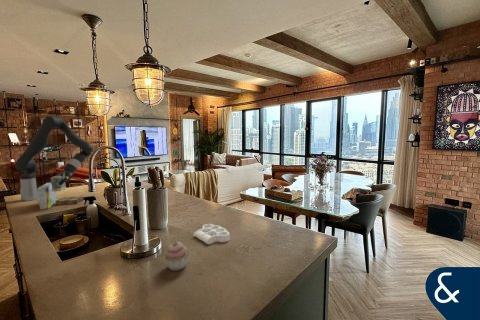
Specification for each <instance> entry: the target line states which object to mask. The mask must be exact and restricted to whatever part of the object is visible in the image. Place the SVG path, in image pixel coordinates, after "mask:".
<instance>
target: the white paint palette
mask: <svg viewBox="0 0 480 320" xmlns="http://www.w3.org/2000/svg"><path fill="white" fill-rule="evenodd" d="M193 237H195V238H197V239H199V240H200V241H203V242H204V243H205V244H206V245H211V244H213V243H216V242H217V243H218V242H219V243H225V242H228V241H230V240H231V239H230V231H229V230H227V229H226V228H225V227H221V225H216V224H213V223H206V224H203V225H202V227H201V228H200V229H197V230H195V232H193Z"/></svg>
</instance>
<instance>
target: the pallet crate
mask: <svg viewBox="0 0 480 320" xmlns="http://www.w3.org/2000/svg"><path fill="white" fill-rule="evenodd" d="M61 180H63V176H56V175H55V176H52V177H50V183H52V192H54V191H56V192H62V191H63V190H64V191H65V190H67V186H66V181H65V182H64V183H63V184H62V185H59V184H58V183H59V182H60V181H61Z"/></svg>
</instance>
